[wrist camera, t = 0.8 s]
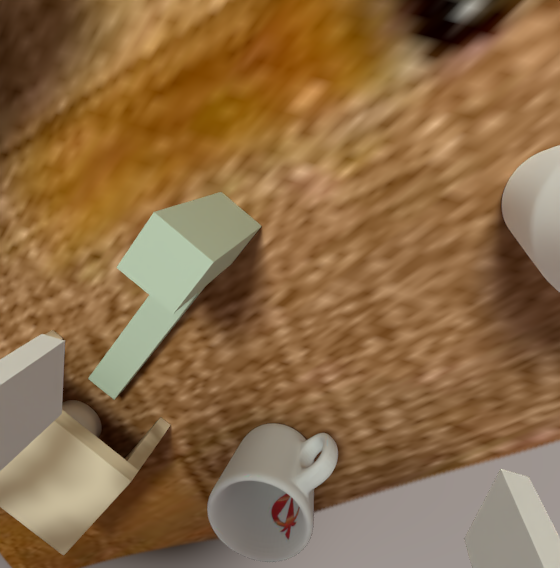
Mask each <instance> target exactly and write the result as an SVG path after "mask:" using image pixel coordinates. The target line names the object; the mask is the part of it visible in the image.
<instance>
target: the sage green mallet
mask: <svg viewBox="0 0 560 568" xmlns="http://www.w3.org/2000/svg"><path fill="white" fill-rule="evenodd" d="M260 228H261V225H260V224H259V223H257V222H256V221H255V220H254V219H253V218H251V217H250V216H249V215H248V214H247V213H246V212H244V211H243V210H242V209H241V208H240V207H239V206H237V205H236V204H235V203H234V202H233V201H231V200H230V199H229V198H228V197H227V196H226V195H224V194H223V193H222V192H219V193H216V194H213V195H209V196H206V197H203V198H199V199H196V200H193V201H189V202H186V203H183V204H179V205H176V206H173V207H169V208H166V209H163V210H159V211H156V212H154V213H153V214H152V216H151V217H150V219H149V220H148V222H147V223H146V225H145V226H144V228H143V229H142V231H141V232H140V234H139V235H138V237H137V238H136V240H135V241H134V243H133V244H132V245H131V247H130V248H129V250H128V251H127V253H126V254H125V256H124V257H123V259H122V260H121V262H120V263H119V265H118V266H117V268H118V269H119V270H120V271H121V272H122V273H124V274H125V275H126V276H127V277H129V278H130V279H131V280H132V281H133V282H135V283H136V284H137V285H138V286H139V287H141V288H142V289H143V290H144V291H146V292H147V293H148V294H149V296H148V298H147V299H146V300H145V302H144V303H143V305H142V306H141V307H140V309H139V310H138V311H137V313H136V314H135V315H134V317H133V318H132V320H131V321H130V322H129V324H128V325H127V326H126V328H125V329H124V330H123V332H122V333H121V335H120V336H119V337H118V339H117V340H116V341H115V343H114V344H113V345H112V347H111V348H110V350H109V351H108V352H107V354H106V355H105V356H104V358H103V359H102V360H101V362H100V363H99V364H98V366H97V367H96V369H95V370H94V371H93V373H92V374H91V375H90V377H89V378H88V379H89V380H90V381H91V382H93V383H94V384H95V385H96V386H98V387H99V388H100V389H101V390H103V391H104V392H105V393H106V394H108V395H109V396H110V397H111V398H113V399H115V398H116V397H117V396H118V395H119V394H120V393H121V392H122V391H123V390H124V389H125V387H126V386H127V385H128V384H129V382H130V381H131V380H132V379H133V377H134V376H135V375H136V374H137V372H138V371H139V370H140V369H141V367H142V366H143V365H144V363H145V362H146V361H147V360H148V358H149V357H150V356H151V355H152V353H153V352H154V351H155V350H156V348H157V347H158V346H159V345H160V343H161V342H162V341H163V339H164V338H165V337H166V336H167V334H168V333H169V332H170V331H171V329H172V328H173V327H174V326H175V324H176V323H177V322H178V321H179V319H180V318H181V317H182V315H183V314H184V313H185V312H186V310H187V309H188V308H189V307H190V305H191V304H192V303H193V302H194V300H195V299H196V298H197V297H198V295H199V294H200V293H201V292H202V290H203V289H204V288H205V286H206V285H208V284H209V283H210V282H211V281H212V280H213V279H214V278H216V277H217V276H218V275H219V274H220V273H221V272H223V271H224V270H225V269H226V268H227V267H228V266H230V265H231V264H232V263H233V261H234V260H235V259H236V258H237V256H238V255H239V254H240V253H241V251H242V250H243V249H244V248H245V246H246V245H247V244H248V243H249V241H250V240H251V239H252V238H253V236H254V235H255V234H256V233H257V231H258V230H259V229H260Z"/></svg>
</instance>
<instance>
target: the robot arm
mask: <svg viewBox="0 0 560 568" xmlns="http://www.w3.org/2000/svg"><path fill="white" fill-rule="evenodd" d="M64 353H65V340H61V339H58V338H55V337H51V336H48V335H44V334H41V335H39V336H38V337H36V338H34V339H33V340H31V341H29V342H28V343H26V344H25V345H23V346H21V347H20V348H18V349H16V350H15V351H13V352H12V353H10V354H8V355H7V356H5V357H4V358H2V359H0V471H1V470H2V469H3V468H4V467H5V466H6V465H7V464H8V463H10V462H11V461H12V460H13V459H14V458H15V457H16V456H17V455H18V454H19V453H20V452H21V451H22V450H23V449H25V448H26V447H27V446H28V445H29V444H30V443H31V442H32V441H33V440H34V439H35V438H36V437H37V436H39V435H40V434H41V433H42V432H43V431H44V430H45V429H46V428H47V427H48V426H49V425H50V424H51V423H53V422H54V421H55V420H56V419H57V418H58V417H59V416H60V415H61V414H62V400H63V376H64ZM464 539H465V543H466V547H467V551H468V555H469V558H470V562H471V565H472V568H560V538H559V535H558V534H557V532H556V530H555V528H554V526H553V524H552V522H551V520H550V518H549V516H548V514H547V512H546V510H545V508H544V506H543V504H542V502H541V500H540V498H539V496H538V494H537V492H536V490H535V489H534V486H533V485H532V483H531V481H530V479H529V477H527V476H524V475H520V474H517V473H513V472H510V471H507V470H503V469H500V471H499V473H498V475H497V477H496V479H495V481H494V483H493V484H492V487H491V489H490V490H489V492H488V494H487V496H486V498H485V500H484V502H483V504H482V505H481V508H480V509H479V511H478V513H477V515H476V517H475V519H474V521H473V523H472V525H471V527H470V529H469V530H468V532H467V534H466V536H465V538H464Z"/></svg>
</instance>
